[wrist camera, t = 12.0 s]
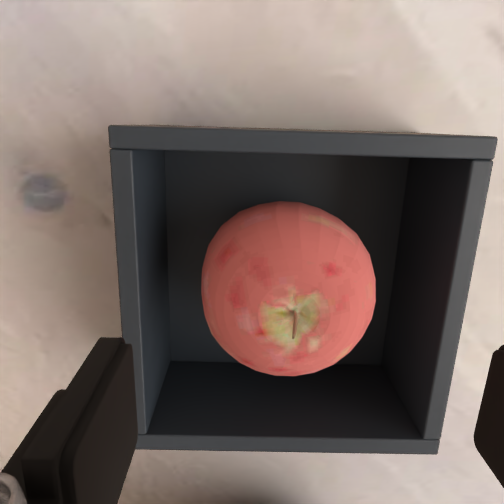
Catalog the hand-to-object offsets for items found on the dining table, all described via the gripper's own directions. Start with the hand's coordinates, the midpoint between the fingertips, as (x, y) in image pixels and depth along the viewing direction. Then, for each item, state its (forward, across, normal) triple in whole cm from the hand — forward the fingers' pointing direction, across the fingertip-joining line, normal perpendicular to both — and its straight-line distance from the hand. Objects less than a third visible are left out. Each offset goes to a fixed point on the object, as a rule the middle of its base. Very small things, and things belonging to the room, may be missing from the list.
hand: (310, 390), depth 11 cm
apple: (+12, 0, 0) cm, 12 cm away
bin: (+13, 0, +1) cm, 13 cm away
